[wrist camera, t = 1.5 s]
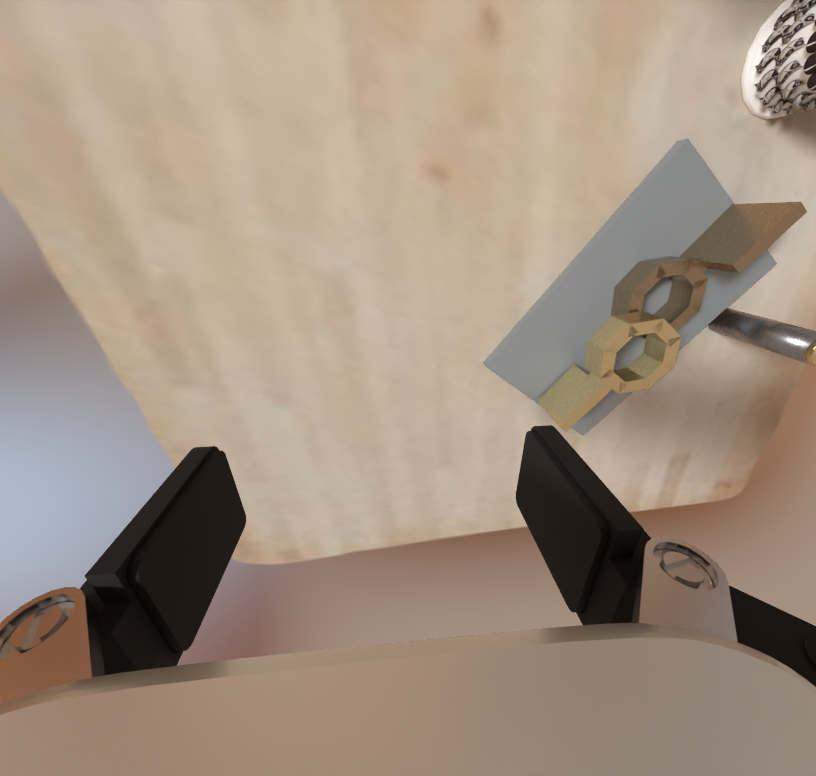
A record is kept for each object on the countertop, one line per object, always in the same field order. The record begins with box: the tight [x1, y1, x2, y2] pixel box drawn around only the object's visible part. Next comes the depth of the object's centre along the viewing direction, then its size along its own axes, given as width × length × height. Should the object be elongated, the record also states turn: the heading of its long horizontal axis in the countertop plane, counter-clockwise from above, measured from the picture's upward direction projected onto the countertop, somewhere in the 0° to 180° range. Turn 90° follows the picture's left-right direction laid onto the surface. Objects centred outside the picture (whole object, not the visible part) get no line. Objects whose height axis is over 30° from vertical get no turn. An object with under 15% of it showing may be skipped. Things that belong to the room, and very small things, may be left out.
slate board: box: [483, 139, 777, 435], centre depth 37 cm, size 27×18×1 cm, turn 144°
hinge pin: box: [708, 308, 816, 366], centre depth 34 cm, size 3×3×11 cm
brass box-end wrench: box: [538, 311, 681, 431], centre depth 36 cm, size 14×8×6 cm, turn 144°
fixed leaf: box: [611, 202, 807, 339], centre depth 32 cm, size 14×8×6 cm, turn 144°
